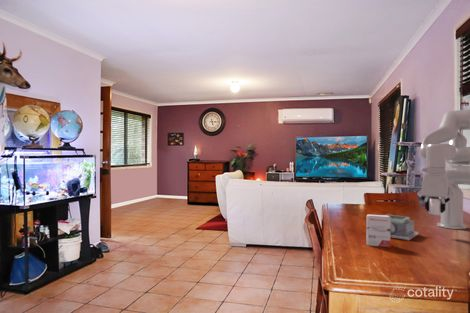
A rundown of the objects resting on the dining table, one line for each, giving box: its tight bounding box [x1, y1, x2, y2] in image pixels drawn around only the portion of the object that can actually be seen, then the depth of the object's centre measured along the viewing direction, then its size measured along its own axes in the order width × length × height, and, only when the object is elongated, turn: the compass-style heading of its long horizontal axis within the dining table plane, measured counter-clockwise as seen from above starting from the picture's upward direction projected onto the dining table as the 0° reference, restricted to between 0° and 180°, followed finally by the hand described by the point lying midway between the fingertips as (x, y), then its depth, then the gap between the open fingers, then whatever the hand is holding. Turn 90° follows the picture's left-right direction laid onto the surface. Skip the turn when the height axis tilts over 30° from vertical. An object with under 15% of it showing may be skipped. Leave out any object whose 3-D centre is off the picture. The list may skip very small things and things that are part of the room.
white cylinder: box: [428, 196, 442, 216], centre depth 150 cm, size 5×5×8 cm
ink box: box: [365, 214, 392, 248], centre depth 132 cm, size 9×5×12 cm, turn 71°
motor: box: [385, 214, 419, 241], centre depth 151 cm, size 16×16×8 cm
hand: (435, 211), depth 150 cm, fingers closed on white cylinder, 5 cm apart
